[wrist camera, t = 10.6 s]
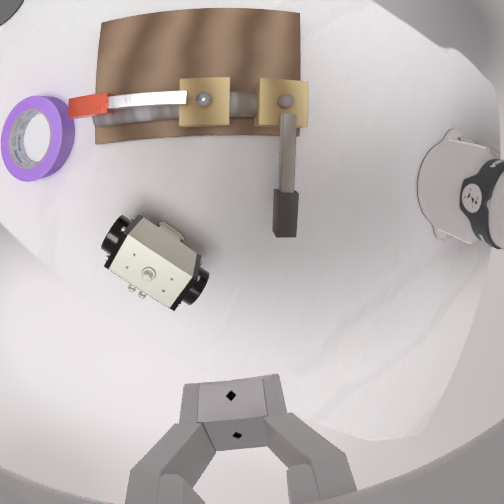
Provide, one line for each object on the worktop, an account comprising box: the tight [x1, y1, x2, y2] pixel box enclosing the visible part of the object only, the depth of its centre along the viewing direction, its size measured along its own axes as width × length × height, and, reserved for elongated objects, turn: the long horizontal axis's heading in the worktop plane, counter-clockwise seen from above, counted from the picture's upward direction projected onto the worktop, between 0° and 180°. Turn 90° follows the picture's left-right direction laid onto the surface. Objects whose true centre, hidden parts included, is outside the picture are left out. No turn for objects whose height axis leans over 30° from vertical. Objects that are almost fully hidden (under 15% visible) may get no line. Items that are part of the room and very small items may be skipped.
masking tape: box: [1, 96, 75, 182], centre depth 29 cm, size 12×12×4 cm
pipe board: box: [92, 8, 308, 237], centre depth 27 cm, size 25×27×10 cm
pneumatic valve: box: [101, 214, 209, 311], centre depth 33 cm, size 6×12×12 cm, turn 52°
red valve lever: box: [68, 91, 211, 119], centre depth 24 cm, size 2×14×3 cm, turn 87°
